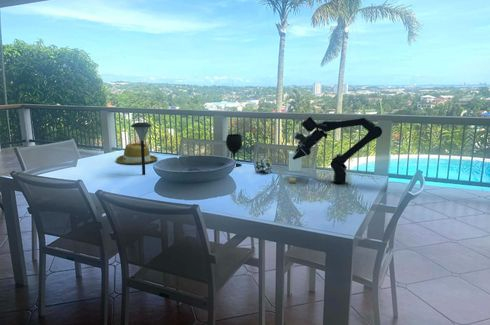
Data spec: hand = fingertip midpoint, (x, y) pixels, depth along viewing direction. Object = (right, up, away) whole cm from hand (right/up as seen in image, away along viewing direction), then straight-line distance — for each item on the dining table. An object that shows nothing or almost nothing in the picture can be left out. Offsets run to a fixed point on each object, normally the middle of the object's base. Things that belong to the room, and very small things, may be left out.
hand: (292, 157), depth 203 cm
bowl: (-1, -14, -6) cm, 15 cm away
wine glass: (-34, -5, +38) cm, 51 cm away
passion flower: (-15, -9, +18) cm, 26 cm away
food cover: (+1, -6, +1) cm, 7 cm away
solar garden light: (-85, -10, +10) cm, 86 cm away
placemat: (0, -13, -2) cm, 13 cm away
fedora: (-100, -2, +49) cm, 111 cm away
